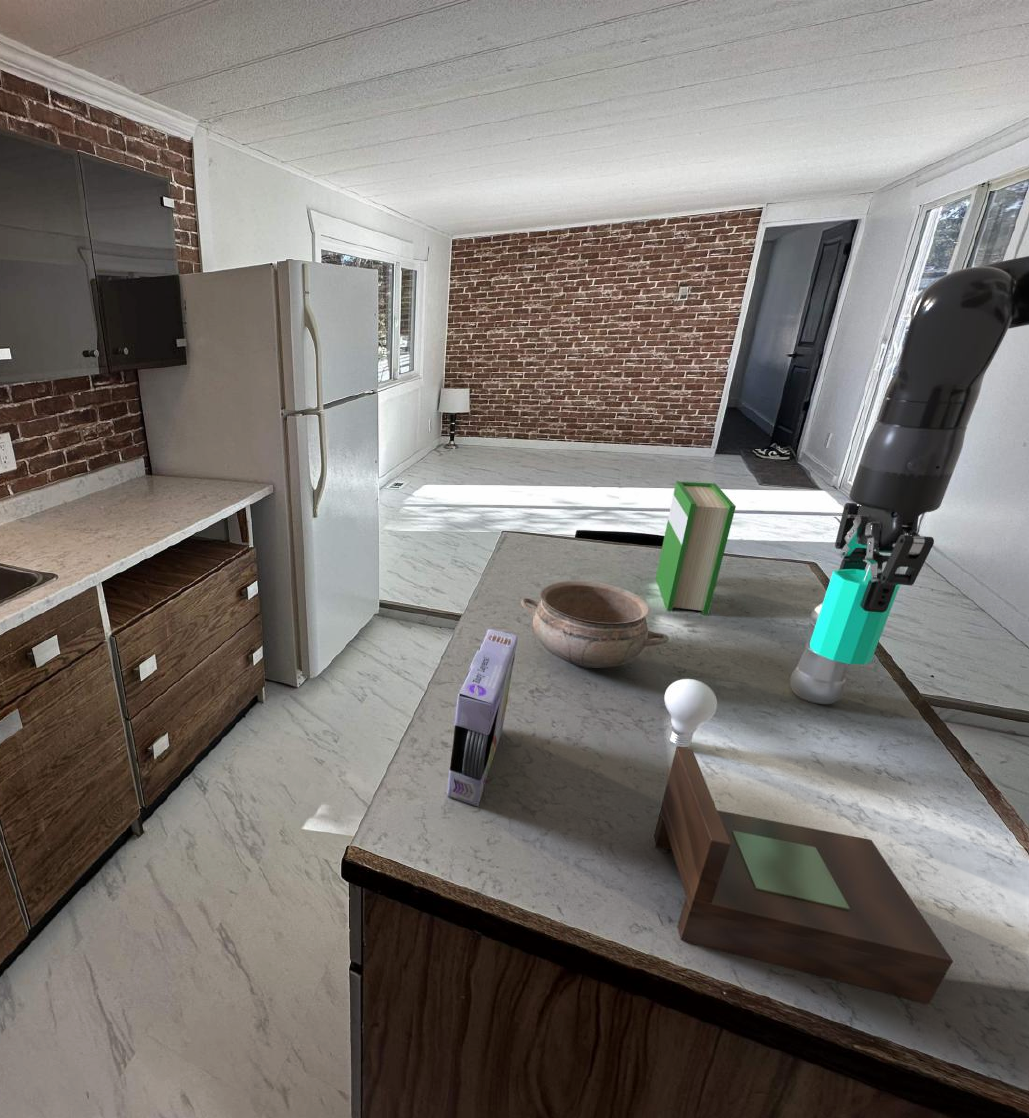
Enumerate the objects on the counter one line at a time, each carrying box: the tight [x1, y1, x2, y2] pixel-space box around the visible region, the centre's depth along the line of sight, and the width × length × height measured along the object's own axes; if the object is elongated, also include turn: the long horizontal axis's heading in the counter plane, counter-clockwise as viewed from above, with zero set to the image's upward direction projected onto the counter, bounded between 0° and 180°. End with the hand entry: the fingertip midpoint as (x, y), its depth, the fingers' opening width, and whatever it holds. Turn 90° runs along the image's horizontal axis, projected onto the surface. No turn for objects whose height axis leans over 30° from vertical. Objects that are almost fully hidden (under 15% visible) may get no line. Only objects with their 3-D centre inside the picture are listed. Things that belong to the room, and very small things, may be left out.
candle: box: [810, 564, 901, 665], centre depth 73 cm, size 6×6×12 cm
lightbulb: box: [663, 678, 718, 748], centre depth 87 cm, size 6×6×11 cm
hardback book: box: [655, 480, 736, 616], centre depth 129 cm, size 18×7×24 cm, turn 157°
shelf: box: [652, 746, 954, 1005], centre depth 62 cm, size 20×14×14 cm
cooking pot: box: [520, 580, 670, 669], centre depth 109 cm, size 25×19×12 cm
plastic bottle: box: [789, 602, 849, 705], centre depth 94 cm, size 6×7×20 cm
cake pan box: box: [446, 628, 519, 807], centre depth 84 cm, size 19×5×18 cm, turn 151°
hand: (858, 598), depth 73 cm, fingers closed on candle, 6 cm apart
